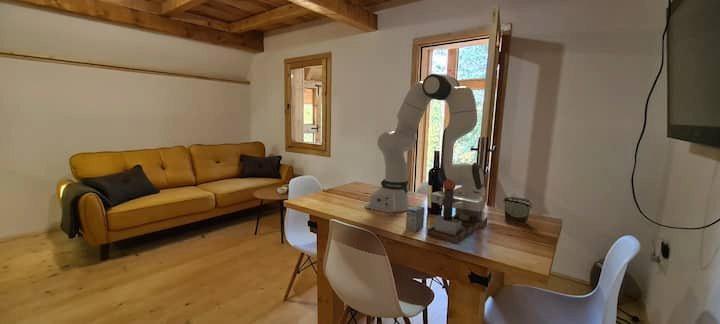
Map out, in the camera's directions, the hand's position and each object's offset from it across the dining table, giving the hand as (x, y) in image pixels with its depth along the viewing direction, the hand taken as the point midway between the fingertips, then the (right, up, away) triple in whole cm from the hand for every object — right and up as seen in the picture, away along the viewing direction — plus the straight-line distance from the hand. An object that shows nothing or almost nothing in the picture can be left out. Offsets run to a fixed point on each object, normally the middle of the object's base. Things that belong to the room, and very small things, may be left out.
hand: (447, 204), depth 116 cm
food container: (+38, -11, +23) cm, 46 cm away
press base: (+8, -12, +11) cm, 18 cm away
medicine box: (-10, -12, +12) cm, 20 cm away
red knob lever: (0, -11, +2) cm, 11 cm away
